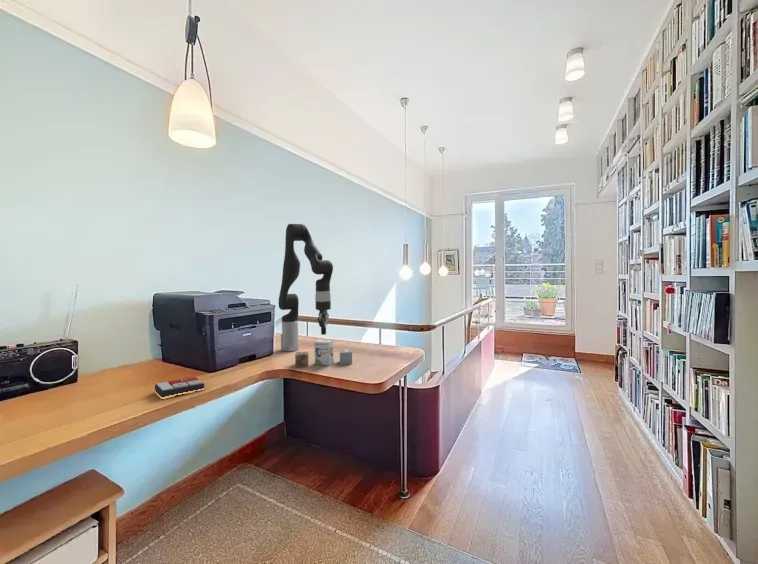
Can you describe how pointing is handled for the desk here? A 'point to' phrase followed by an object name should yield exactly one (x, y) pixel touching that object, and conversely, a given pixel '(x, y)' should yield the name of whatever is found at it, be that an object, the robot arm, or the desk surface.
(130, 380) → the desk surface
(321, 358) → the ink box
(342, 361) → the numbered block seven
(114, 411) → the desk surface
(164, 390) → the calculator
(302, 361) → the numbered block one
